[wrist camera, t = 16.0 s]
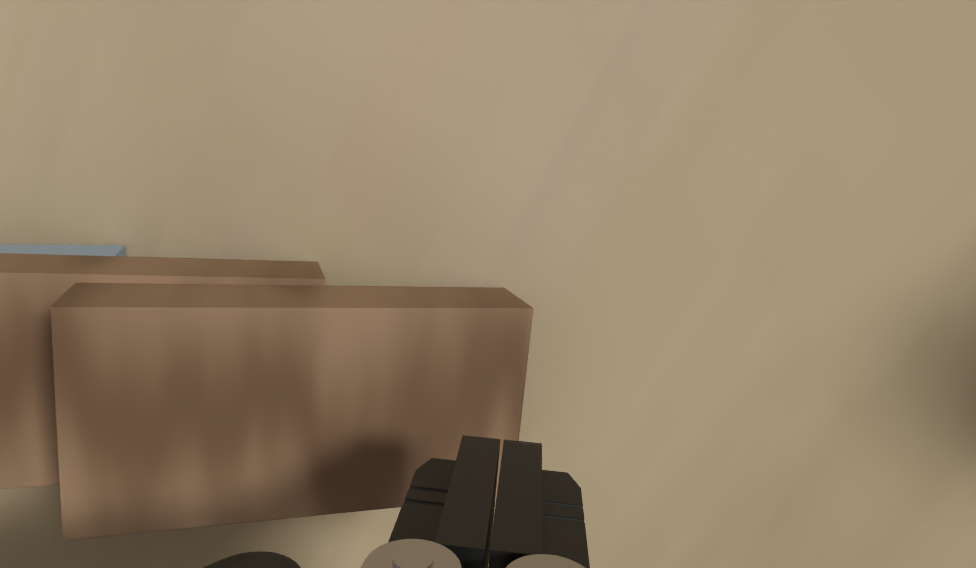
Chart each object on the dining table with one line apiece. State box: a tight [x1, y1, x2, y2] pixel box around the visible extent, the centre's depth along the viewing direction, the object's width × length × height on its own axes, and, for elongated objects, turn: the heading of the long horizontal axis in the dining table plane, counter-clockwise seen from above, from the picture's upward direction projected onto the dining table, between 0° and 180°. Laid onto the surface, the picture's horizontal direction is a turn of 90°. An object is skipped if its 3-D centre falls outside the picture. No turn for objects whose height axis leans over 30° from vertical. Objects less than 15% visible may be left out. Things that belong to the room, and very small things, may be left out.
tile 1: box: [51, 283, 533, 540], centre depth 16 cm, size 5×2×10 cm
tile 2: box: [0, 253, 325, 489], centre depth 16 cm, size 5×2×10 cm
